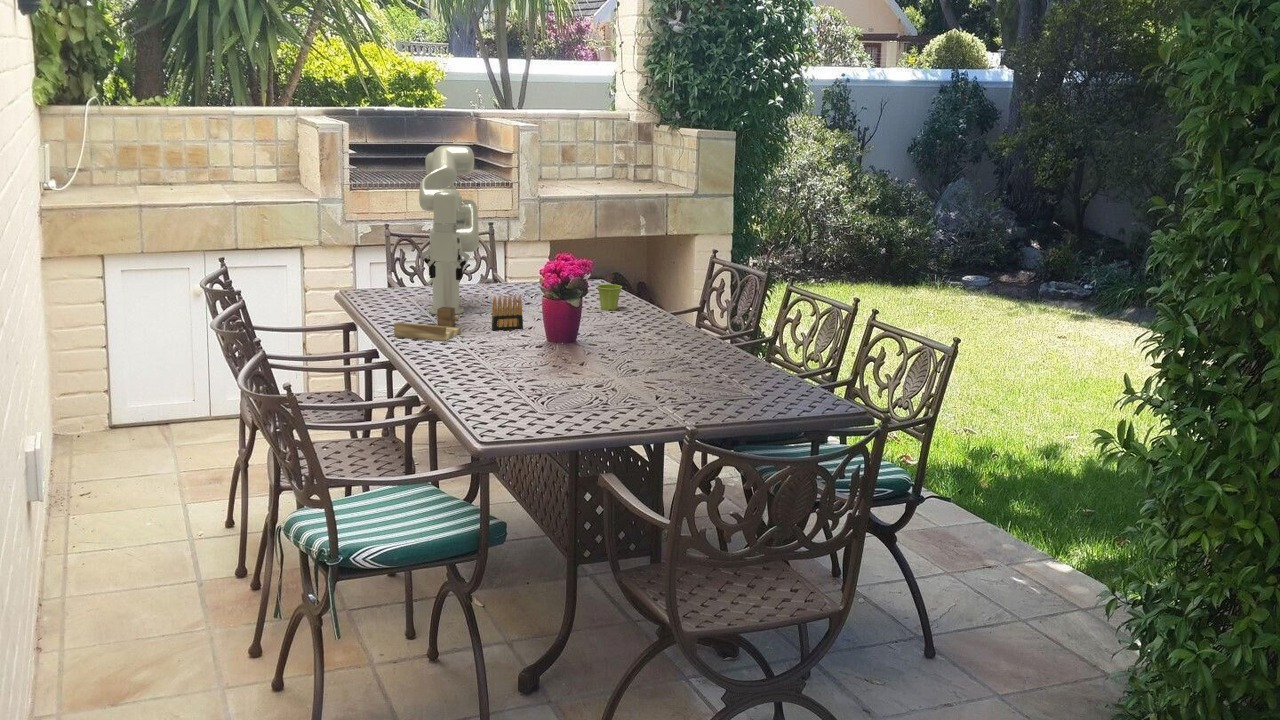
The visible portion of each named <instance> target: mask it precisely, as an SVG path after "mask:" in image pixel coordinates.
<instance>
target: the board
mask: <svg viewBox="0 0 1280 720" xmlns="http://www.w3.org/2000/svg"><path fill="white" fill-rule="evenodd" d="M393 325H394V326H393V330H394V332H393V335H394V338H402V337H406V339H414V338H418V339H417V340H425V339H428V340H427V341H436V340H437V341H438V342H446V341H448V340H449V338H450V339H452V338H454V337H456V336H455V335H457V334H459V333H461V334H462V332H461V331H462V329H461V328H462V327H456V326H455V327H446V326H438V325H432V324H423V323H422V324H421V323H405V322H404V323H403V322H395V323H393ZM459 335H460V334H459ZM453 336H454V337H453ZM457 336H458V335H457ZM447 339H448V340H447ZM445 340H446V341H445Z"/></svg>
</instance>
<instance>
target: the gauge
mask: <svg viewBox="0 0 1280 720" xmlns="http://www.w3.org/2000/svg"><path fill="white" fill-rule="evenodd" d="M436 318H437V326H446V327H456V322H458V321H459V320H460V315H456V314H455V308H452V307H441V308H439V309H437V317H436Z"/></svg>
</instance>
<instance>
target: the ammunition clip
mask: <svg viewBox="0 0 1280 720" xmlns="http://www.w3.org/2000/svg"><path fill="white" fill-rule="evenodd" d="M502 299H503V300H502ZM512 300H513V301H512ZM517 300H518V301H517ZM497 301H498V302H497ZM522 301H523V300H522V296H521V295H520V294H519V295H518V299H517V296H516V294H514V295H513V299H512V295H509V296H508V300H507V297H506V295H504V296H503V298H502V296H501V295H499V296H498V299H497V297H496V295H494V296H493V299H492V309H491V313H492V314H491V315H492V316H491V331H492V330H493V332H497V331H498V332H499V330H503V331H516V330H515V329H522V330H524V320H523V319H524V318H523V317H524V316H523V304H522V303H523V302H522Z"/></svg>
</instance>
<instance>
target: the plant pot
mask: <svg viewBox="0 0 1280 720" xmlns="http://www.w3.org/2000/svg"><path fill="white" fill-rule="evenodd" d="M596 288H597V291H598V293H599V295H598V296H599V305H600V309H601V310H603V311H616V310H618V307H619V300H620V293H621V291H622V289H623V286H622V285H618V284H613V283H611V284H608V283H607V284H605V283H604V284H603V283H602V284H598V285H597V286H596Z"/></svg>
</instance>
